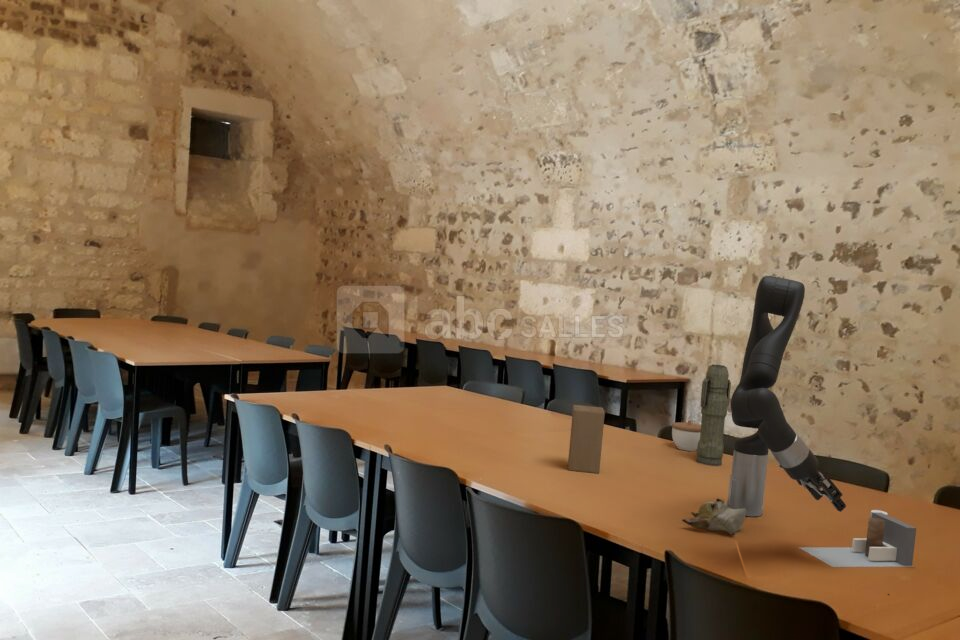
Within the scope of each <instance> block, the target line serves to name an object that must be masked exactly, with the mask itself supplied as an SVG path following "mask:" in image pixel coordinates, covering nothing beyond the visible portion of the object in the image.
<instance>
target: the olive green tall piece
mask: <svg viewBox="0 0 960 640" xmlns="http://www.w3.org/2000/svg"><path fill="white" fill-rule="evenodd" d="M729 374H730V373H729V370H728V367H727V366H725V365H722V364H711V365H709V366H708V368H707V371H706V375H705V377H704V379H703V380H702V384H701V392H700V407H701V408H700V413H701V421H700V422H701V423H700V425H701V432H700V440H699V442H698V447H697V450H696V455H697V457H696V462H697V463H698V464H701V465H706V466H713V467H714V466H721V465H722V460H723V457H724V448H725V445H724V442H723V440H724V431H725V419H726V417H727V414H728V407H729V406H730V399H731V398H730V396H731V386H732V383H731V380H730V379H729V377H730V376H729Z"/></svg>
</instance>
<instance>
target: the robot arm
mask: <svg viewBox="0 0 960 640" xmlns="http://www.w3.org/2000/svg"><path fill="white" fill-rule="evenodd" d="M805 287H806V286H805V285H804V283H802V282H800V281H798V280H793V279H790V278H784V277H779V276H774V275H765V276H763V277H762V278H761V279H760V281H759V283H758V284H757V289H756V293H755V299H754V305H753V306H754V307H753V313H752V321H751V326H750V327H751V328H750V330H749V331H750V332H749V336H748V339H747V343H746V348H745V352H744V357H743V363H742V369H741V376H740V379H739V383H738V384H737V386H736V388H735V389H734V391H733V394H732V396H731V398H730V411H731V419H732V422H733V424H734V425H735V426H737V427H742V428H748V429H749V428H751V429H757V431H755V432H754V433H753V434H751V435H749V436H746V437H741V438H736V440H735V441H734V444H733V445H734V446H733V456H732V466H731V474H730V476H729V484H728V485H729V486H728V496H727V505H728V507H729V508H731V509H743V508H745V509H746V513H745V517H761V516H762V515H763V509H764V499H765V498H764V497H765V490H766V489H765V488H766V479H767V468H768V458H769V452H771V454H772V456H773V457H774V459H775V460H776V461H777V462H778V464H779V465H780V467H782V469H783V470H784V472H785V473H786V474H787V475H788V476H789V478H790V479H792V480H795V481H796V482H797V484H798V485H800V486H803V488H804V489H805V490H808V492H809V494H811V496H812V497H813V499H815V500H816V501H819V500H821V499H822V498H823V497H825V498H826V499H827V500H828V501H829V502H830V503H831V504H832V506H833V507H834V508H835V509H836V510H837V512H842V511H844V509H845V508H846V507H847V505H846V503H845V502H844V501H843V498H842V496H843V493H842V492H841V490H840V489H839V488H838V487H837V486H836V485H835V483H834V482H833V481H832V479H831V477H829V476H824V474H823V473H822V472H821V471H820V470H818V466H819V460H818V458H817V457H816V455H815V454H814V453H813V452H812V450H811V449H810V448H809V446H808V445H807V444H806V443H805V441H804V440H803V439H802V438H801V436H800V435H798V434H797V432H795V430H794V429H793V428H792V426H791V425H790V424H789V423H788V422H787V419H786V417H785V414H784V411H783V409H782V406H781V403H780V401H779V399H778V396H777V395H776V394H775V392H773V391H772V390H770V388H771V387H773V386H775V384H776V382H777V380H778V377H779V373H780V368H781V364H782V361H783V357H784V353H785V351H786V349H787V346H788V343H789V341H790V339H791V337H792V335H793V332H794V329H795V326H796V325H797V321H798V319H799V316H800V313H801V310H802V306H803V305H804V300H805V294H806V293H805V292H806V291H805V290H806V288H805ZM769 314H770V315H775V316H780V317H783V319H782V320H781V321H780V323H779V324H778V325H777V326H776V327H775V328H773V326H772V323H771V321H770V318H769ZM821 489H822V490H821Z"/></svg>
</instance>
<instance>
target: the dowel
mask: <svg viewBox="0 0 960 640" xmlns="http://www.w3.org/2000/svg"><path fill="white" fill-rule="evenodd" d="M868 519H869V521H867V528H868V531H866V538H867V541H866V551H865V556H866V557H868V556H869V547H882V545H883V535H884V525H885V521H884V520H882V519H879V518H870V517H869V518H868Z"/></svg>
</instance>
